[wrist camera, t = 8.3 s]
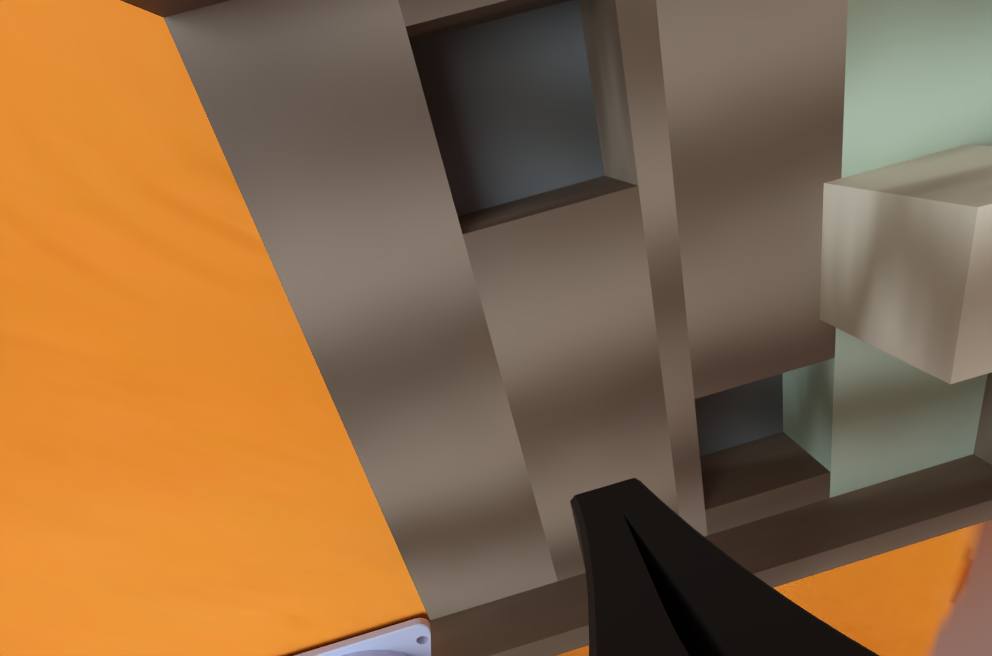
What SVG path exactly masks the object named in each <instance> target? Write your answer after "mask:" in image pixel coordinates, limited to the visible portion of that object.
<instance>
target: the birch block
mask: <svg viewBox="0 0 992 656" xmlns="http://www.w3.org/2000/svg"><path fill="white" fill-rule="evenodd" d="M819 319H820V320H822V321H824V322H826V323H828V324H830V325H832V326H834V327H836V328H838V329H840V330H842V331H844V332H846V333H848V334H850V335H852V336H854V337H856V338H858V339H860V340H862V341H864V342H866V343H868V344H870V345H872V346H874V347H876V348H878V349H880V350H882V351H884V352H886V353H888V354H890V355H892V356H894V357H896V358H898V359H900V360H902V361H904V362H906V363H908V364H910V365H912V366H914V367H916V368H918V369H920V370H922V371H924V372H926V373H928V374H930V375H932V376H934V377H936V378H939V379H941V380H943V381H945V382H947V383H949V384H953V383H957V382H960V381H964V380H967V379H971V378H974V377H977V376H981V375H984V374H988V373H991V372H992V146H980V145H962V146H958V147H955V148H951V149H947V150H944V151H940V152H936V153H933V154H929V155H925V156H922V157H918V158H914V159H910V160H907V161H903V162H899V163H896V164H892V165H888V166H885V167H881V168H877V169H874V170H870V171H866V172H863V173H859V174H855V175H852V176H848V177H844V178H840V179H837V180H833V181H829V182H826V183H824V191H823V222H822V254H821V286H820V318H819Z"/></svg>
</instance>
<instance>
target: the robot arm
mask: <svg viewBox="0 0 992 656" xmlns="http://www.w3.org/2000/svg"><path fill="white" fill-rule="evenodd" d="M570 503H571V508H572V512H573V517H574V521H575V526H576V530H577V535H578V539H579V544H580V548H581V552H582V557H583V561H584V566H585V571H586V582H587V593H588V618H589V656H879V655H877V654H876V653H874V652H872V651H871V650H869V649H867V648H866V647H864V646H862V645H860V644H859V643H857V642H855V641H854V640H852V639H850V638H849V637H847V636H845V635H844V634H842V633H841V632H839V631H837V630H836V629H834V628H833V627H831V626H829V625H828V624H826V623H825V622H823V621H821V620H820V619H818V618H817V617H815V616H813V615H812V614H810V613H809V612H807V611H806V610H804V609H803V608H801V607H800V606H798V605H797V604H795V603H794V602H792V601H791V600H789V599H788V598H786V597H785V596H783V595H782V594H780V593H779V592H778V591H776V590H775V589H773V588H772V587H771V586H769V585H768V584H766V583H765V582H764V581H762V580H761V579H759V578H758V577H756V576H755V575H754V574H752V573H751V572H750V571H748V570H747V569H745V568H744V567H743V566H741V565H740V564H739V563H737V562H736V561H735V560H733V559H732V558H731V557H730V556H728V555H727V554H726V553H724V552H723V551H722V550H721V549H719V548H718V547H717V546H715V545H714V544H713V543H712V542H710V541H709V540H708V539H706V538H705V537H704V536H703V535H701V534H700V533H699V532H698V531H697V530H695V529H694V528H693V527H692V526H690V525H689V524H688V523H687V522H686V521H685V520H683V519H682V518H681V517H680V516H679V515H677V514H676V513H675V512H674V511H673V510H672V509H671V508H669V507H668V506H667V505H666V504H665V503H664V502H663V501H662V500H660V499H659V498H658V497H657V496H656V495H655V494H654V493H653V492H652V491H651V490H649V489H648V488H647V487H646V486H645V485H644V484H643V483H642V482H641V481H640V480H638V479H636V478H632V479H628V480H625V481H621V482H618V483H615V484H611V485H608V486H604V487H601V488H597V489H594V490H591V491H587V492H584V493H580V494H577V495H574V497H573V498H572V499H571V501H570ZM294 656H431V631H430V622H429V621H428V620H427V619H425V618H415V619H412V620H409V621H405V622H402V623H399V624H396V625H392V626H389V627H386V628H382V629H379V630H376V631H373V632H369V633H366V634H363V635H360V636H356V637H353V638H350V639H346V640H343V641H340V642H337V643H333V644H330V645H327V646H324V647H320V648H317V649H314V650H310V651H307V652H304V653H301V654H297V655H294Z"/></svg>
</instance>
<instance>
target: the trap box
mask: <svg viewBox="0 0 992 656" xmlns="http://www.w3.org/2000/svg"><path fill="white" fill-rule="evenodd" d="M121 1H124V2H126V3H129V4H131V5H134V6H136V7H139V8H141V9H144V10H146V11H149V12H151V13H154V14H156V15H159V16H161V17H164V19H165V22H166V24H167V26H168V29H169V31H170V33H171V35H172V38H173V40H174V42H175V44H176V47H177V49H178V51H179V53H180V56H181V58H182V60H183V62H184V65H185V67H186V69H187V71H188V74H189V76H190V78H191V81H192V83H193V85H194V87H195V90H196V92H197V94H198V96H199V99H200V101H201V103H202V105H203V108H204V110H205V112H206V114H207V117H208V119H209V121H210V124H211V126H212V128H213V130H214V133H215V135H216V137H217V139H218V142H219V144H220V146H221V148H222V151H223V153H224V155H225V157H226V160H227V162H228V164H229V166H230V169H231V171H232V173H233V176H234V178H235V180H236V182H237V185H238V187H239V189H240V191H241V194H242V196H243V198H244V200H245V203H246V205H247V207H248V209H249V212H250V214H251V216H252V218H253V221H254V223H255V225H256V228H257V230H258V232H259V234H260V237H261V239H262V241H263V243H264V246H265V248H266V250H267V252H268V255H269V257H270V259H271V261H272V264H273V266H274V268H275V271H276V273H277V275H278V277H279V280H280V282H281V284H282V286H283V289H284V291H285V293H286V295H287V298H288V300H289V302H290V304H291V307H292V309H293V311H294V313H295V316H296V318H297V320H298V323H299V325H300V327H301V329H302V332H303V334H304V336H305V338H306V341H307V343H308V345H309V347H310V350H311V352H312V354H313V356H314V359H315V361H316V363H317V365H318V368H319V370H320V372H321V375H322V377H323V379H324V381H325V384H326V386H327V388H328V390H329V393H330V395H331V397H332V399H333V402H334V404H335V406H336V408H337V411H338V413H339V415H340V418H341V420H342V422H343V424H344V427H345V429H346V431H347V433H348V436H349V438H350V440H351V442H352V445H353V447H354V449H355V451H356V454H357V456H358V458H359V460H360V463H361V465H362V467H363V470H364V472H365V474H366V476H367V479H368V481H369V483H370V485H371V488H372V490H373V492H374V494H375V497H376V499H377V501H378V503H379V506H380V508H381V510H382V512H383V515H384V517H385V519H386V522H387V524H388V526H389V528H390V531H391V533H392V535H393V537H394V540H395V542H396V544H397V546H398V549H399V551H400V553H401V555H402V558H403V560H404V562H405V565H406V567H407V569H408V571H409V574H410V576H411V578H412V580H413V583H414V585H415V587H416V589H417V592H418V594H419V596H420V598H421V601H422V603H423V605H424V607H425V610H426V612H427V614H428V617H429V619H430V631H431V656H555V655H558V654H561V653H565V652H568V651H571V650H574V649H577V648H581V647H584V646H587V645H589V618H588V593H587V582H586V571H585V566H584V561H583V557H582V552H581V548H580V544H579V539H578V535H577V530H576V526H575V521H574V517H573V512H572V508H571V503H570V501H571V499H572V498H573V497H574V495H577V494H580V493H584V492H587V491H591V490H594V489H597V488H601V487H604V486H608V485H611V484H615V483H618V482H621V481H625V480H628V479H632V478H636V479H638V480H640V481H641V482H642V483H643V484H644V485H645V486H646V487H647V488H648V489H649V490H651V491H652V492H653V493H654V494H655V495H656V496H657V497H658V498H659V499H660V500H662V501H663V502H664V503H665V504H666V505H667V506H668V507H669V508H671V509H672V510H673V511H674V512H675V513H676V514H677V515H679V516H680V517H681V518H682V519H683V520H685V521H686V522H687V523H688V524H689V525H690V526H692V527H693V528H694V529H695V530H697V531H698V532H699V533H700V534H701V535H703V536H704V537H705V538H706V539H708V540H709V541H710V542H712V543H713V544H714V545H715V546H717V547H718V548H719V549H721V550H722V551H723V552H724V553H726V554H727V555H728V556H730V557H731V558H732V559H733V560H735V561H736V562H737V563H739V564H740V565H741V566H743V567H744V568H745V569H747V570H748V571H750V572H751V573H752V574H754V575H755V576H756V577H758V578H759V579H761V580H762V581H764V582H765V583H766V584H768V585H769V586H771V587H772V588H773V587H776V586H779V585H782V584H786V583H789V582H792V581H795V580H799V579H802V578H805V577H808V576H811V575H815V574H818V573H821V572H824V571H827V570H831V569H834V568H837V567H840V566H843V565H847V564H850V563H853V562H856V561H859V560H863V559H866V558H869V557H872V556H875V555H879V554H882V553H885V552H888V551H891V550H895V549H898V548H901V547H904V546H907V545H911V544H914V543H917V542H920V541H924V540H927V539H930V538H933V537H936V536H940V535H943V534H946V533H949V532H952V531H956V530H959V529H962V528H965V527H968V526H972V525H975V524H978V523H981V522H984V521H988V520H991V519H992V372H991V373H988V374H984V375H981V376H977V377H974V378H971V379H967V380H964V381H960V382H957V383H953V384H949V383H947V382H945V381H943V380H941V379H939V378H936V377H934V376H932V375H930V374H928V373H926V372H924V371H922V370H920V369H918V368H916V367H914V366H912V365H910V364H908V363H906V362H904V361H902V360H900V359H898V358H896V357H894V356H892V355H890V354H888V353H886V352H884V351H882V350H880V349H878V348H876V347H874V346H872V345H870V344H868V343H866V342H864V341H862V340H860V339H858V338H856V337H854V336H852V335H850V334H848V333H846V332H844V331H842V330H840V329H838V328H836V327H834V326H832V325H830V324H828V323H826V322H824V321H822V320H820V319H819V318H820V286H821V254H822V222H823V191H824V183H826V182H829V181H833V180H837V179H840V178H844V177H848V176H852V175H855V174H859V173H863V172H866V171H870V170H874V169H877V168H881V167H885V166H888V165H892V164H896V163H899V162H903V161H907V160H910V159H914V158H918V157H922V156H925V155H929V154H933V153H936V152H940V151H944V150H947V149H951V148H955V147H958V146H962V145H980V146H992V0H121Z"/></svg>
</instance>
